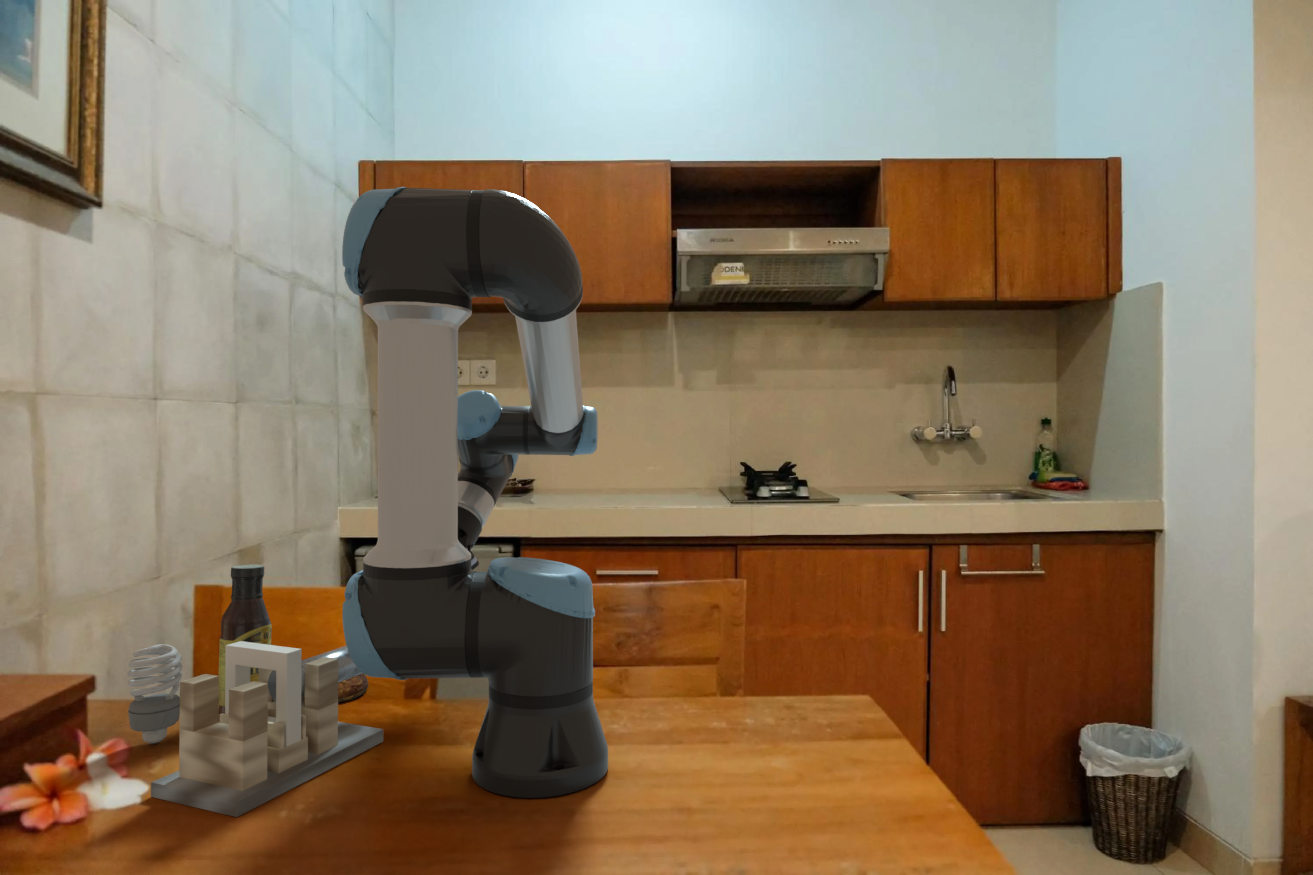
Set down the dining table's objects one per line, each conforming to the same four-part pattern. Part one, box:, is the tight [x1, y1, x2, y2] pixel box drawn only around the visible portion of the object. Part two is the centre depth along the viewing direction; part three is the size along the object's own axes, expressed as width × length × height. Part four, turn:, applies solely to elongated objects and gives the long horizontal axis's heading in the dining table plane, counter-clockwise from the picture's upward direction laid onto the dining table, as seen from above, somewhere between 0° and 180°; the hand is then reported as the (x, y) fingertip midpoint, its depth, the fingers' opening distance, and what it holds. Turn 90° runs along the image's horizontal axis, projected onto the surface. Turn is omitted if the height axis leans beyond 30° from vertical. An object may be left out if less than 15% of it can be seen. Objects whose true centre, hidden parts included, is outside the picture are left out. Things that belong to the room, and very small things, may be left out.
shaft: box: [268, 645, 362, 701], centre depth 97 cm, size 14×4×4 cm, turn 159°
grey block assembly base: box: [150, 657, 384, 818], centre depth 89 cm, size 12×21×12 cm, turn 159°
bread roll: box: [303, 673, 369, 704], centre depth 115 cm, size 11×11×5 cm
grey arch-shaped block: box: [225, 641, 303, 747], centre depth 88 cm, size 9×2×10 cm, turn 69°
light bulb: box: [126, 643, 183, 745], centre depth 96 cm, size 6×6×12 cm
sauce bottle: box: [217, 564, 273, 717], centre depth 107 cm, size 6×6×20 cm
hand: (386, 652), depth 107 cm, fingers closed
